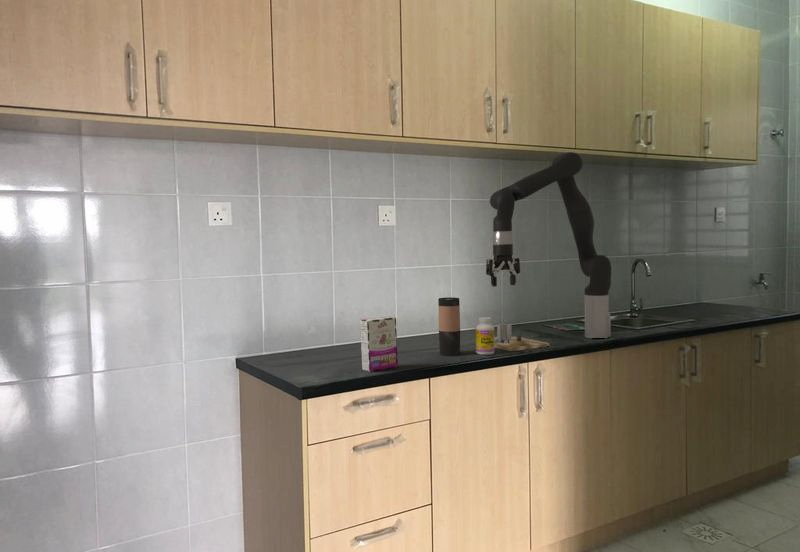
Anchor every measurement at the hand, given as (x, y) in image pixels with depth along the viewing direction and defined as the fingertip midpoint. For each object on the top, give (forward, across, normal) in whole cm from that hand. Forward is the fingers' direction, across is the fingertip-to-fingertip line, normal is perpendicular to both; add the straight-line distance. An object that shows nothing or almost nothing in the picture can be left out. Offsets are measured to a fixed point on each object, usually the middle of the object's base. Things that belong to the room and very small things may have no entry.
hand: (503, 285), depth 244 cm
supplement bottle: (+23, +17, +12) cm, 31 cm away
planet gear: (+21, 0, 0) cm, 21 cm away
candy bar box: (+23, +60, +15) cm, 66 cm away
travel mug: (+23, +28, +6) cm, 37 cm away
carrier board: (+23, -2, +3) cm, 23 cm away
